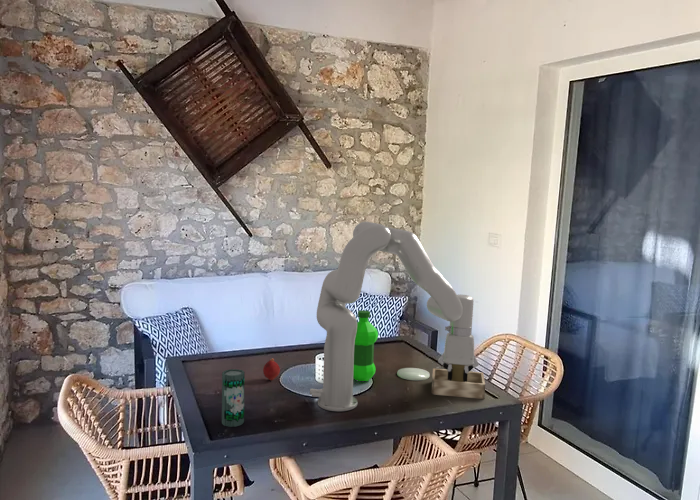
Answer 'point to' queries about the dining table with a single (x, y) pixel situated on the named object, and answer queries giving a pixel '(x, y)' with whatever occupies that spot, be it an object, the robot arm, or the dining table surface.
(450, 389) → the box
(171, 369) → the dining table surface
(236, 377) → the can
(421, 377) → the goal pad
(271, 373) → the onion
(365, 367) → the plastic bottle
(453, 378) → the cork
